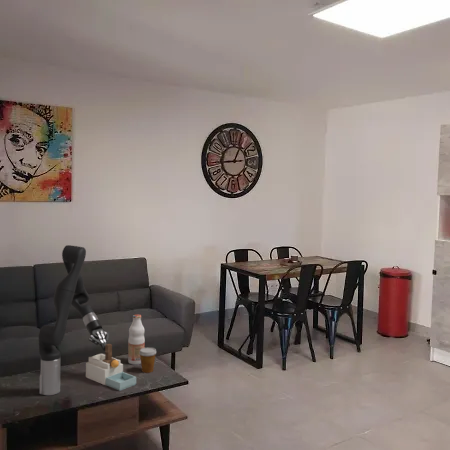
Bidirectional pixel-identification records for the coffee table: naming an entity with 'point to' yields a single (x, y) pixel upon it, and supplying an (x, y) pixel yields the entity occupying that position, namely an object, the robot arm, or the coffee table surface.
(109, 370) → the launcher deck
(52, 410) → the coffee table surface
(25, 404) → the coffee table surface
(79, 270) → the robot arm
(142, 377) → the coffee table surface
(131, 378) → the bin
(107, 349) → the plunger
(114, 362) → the ball
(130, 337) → the fruit juice
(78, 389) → the coffee table surface
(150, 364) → the disposable coffee cup
